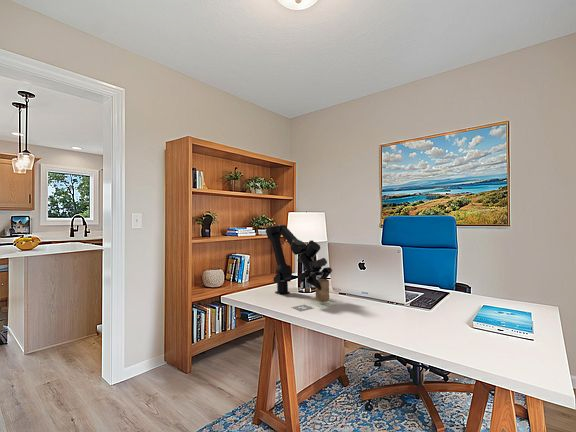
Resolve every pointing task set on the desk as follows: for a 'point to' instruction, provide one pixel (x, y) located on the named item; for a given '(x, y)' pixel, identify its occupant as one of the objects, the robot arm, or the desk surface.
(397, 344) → the desk surface
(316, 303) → the sage plate
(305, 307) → the slate tile
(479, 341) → the desk surface
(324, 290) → the walnut block
